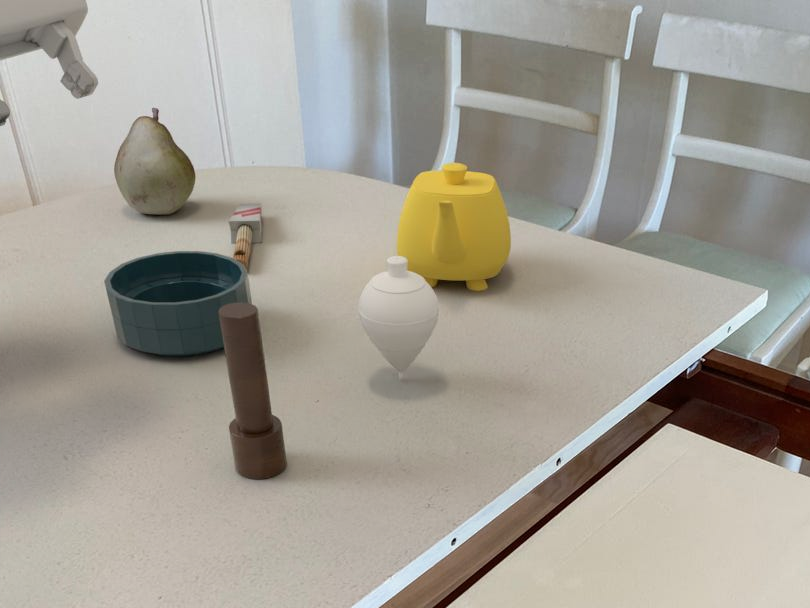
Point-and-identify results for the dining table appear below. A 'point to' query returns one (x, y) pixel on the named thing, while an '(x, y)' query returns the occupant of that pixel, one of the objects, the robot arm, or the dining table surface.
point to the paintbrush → (246, 230)
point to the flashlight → (250, 396)
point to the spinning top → (398, 313)
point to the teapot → (454, 227)
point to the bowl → (175, 300)
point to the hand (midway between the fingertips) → (46, 105)
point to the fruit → (153, 168)
